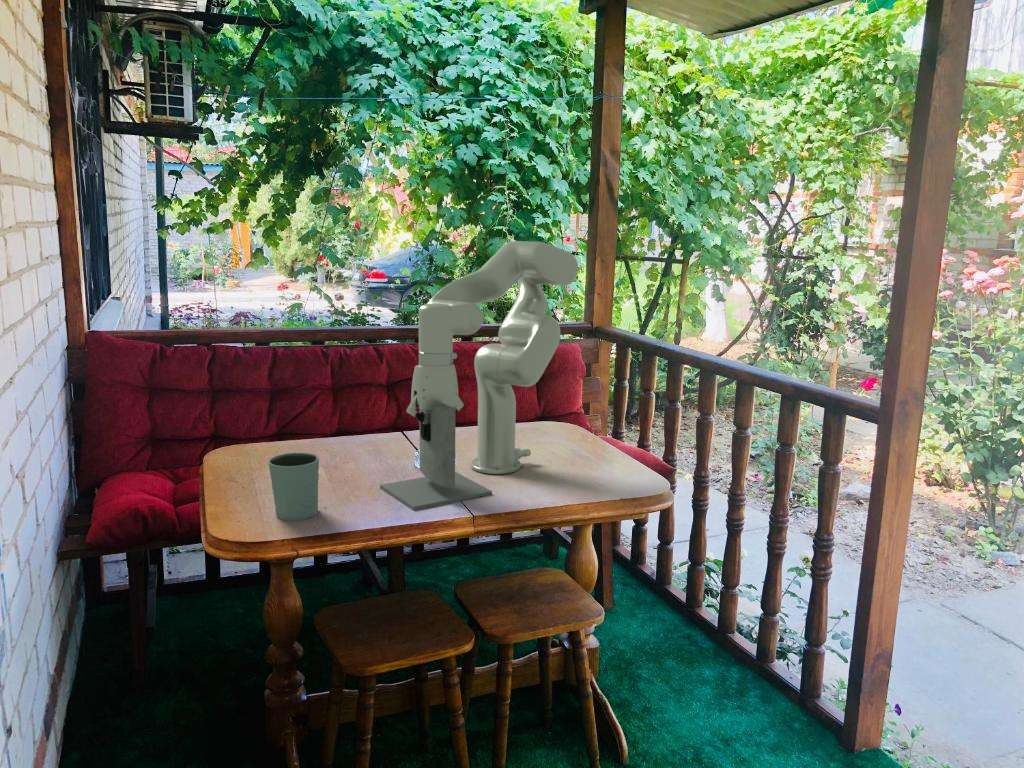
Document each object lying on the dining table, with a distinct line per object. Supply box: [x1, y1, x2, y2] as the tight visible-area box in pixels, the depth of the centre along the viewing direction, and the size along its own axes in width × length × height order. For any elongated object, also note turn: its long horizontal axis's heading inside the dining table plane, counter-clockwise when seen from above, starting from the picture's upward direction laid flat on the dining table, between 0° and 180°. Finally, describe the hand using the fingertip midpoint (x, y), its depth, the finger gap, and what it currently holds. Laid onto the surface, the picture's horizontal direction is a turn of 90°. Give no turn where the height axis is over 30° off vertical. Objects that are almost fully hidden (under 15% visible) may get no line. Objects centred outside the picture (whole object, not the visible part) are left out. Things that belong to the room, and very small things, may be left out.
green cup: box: [267, 452, 320, 522], centre depth 165 cm, size 10×10×12 cm
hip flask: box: [419, 404, 456, 487], centre depth 179 cm, size 16×4×20 cm, turn 28°
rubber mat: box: [379, 471, 493, 511], centre depth 181 cm, size 20×17×1 cm
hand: (435, 438), depth 179 cm, fingers closed on hip flask, 4 cm apart
